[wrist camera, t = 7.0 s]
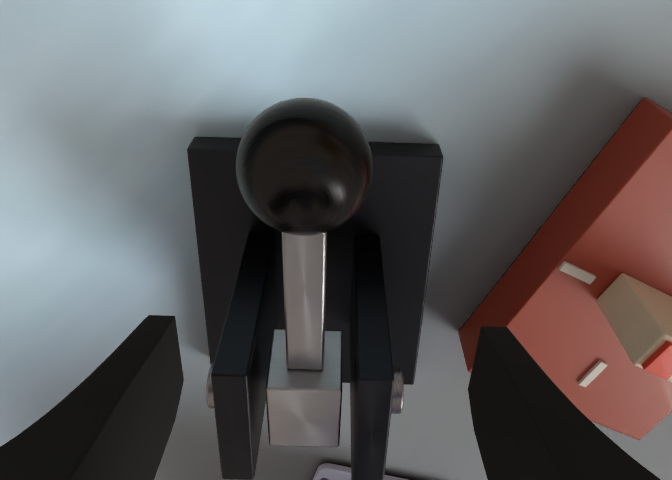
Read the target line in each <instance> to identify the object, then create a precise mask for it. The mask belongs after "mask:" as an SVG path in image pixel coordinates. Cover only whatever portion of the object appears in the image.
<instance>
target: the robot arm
mask: <svg viewBox="0 0 672 480" xmlns="http://www.w3.org/2000/svg"><path fill="white" fill-rule="evenodd" d="M183 381H184V379H183V371H182V364H181V357H180V350H179V342H178V335H177V328H176V320H175V316H158V315H149V316H148V317H146V318H145V319H144V320H143V321H142V322H141V323H140V324H139V326H138V327H137V328H136V329H135V330H134V331H133V332H132V333H131V334H130V335H129V336H128V337H127V338H126V339H125V340H124V341H123V342H122V343H121V345H120V346H119V347H118V348H117V349H116V350H115V351H114V352H113V353H112V354H111V355H110V356H109V357H108V358H107V359H106V360H105V361H104V362H103V363H102V364H101V365H100V366H99V367H98V368H97V369H96V370H95V371H94V372H93V373H92V374H91V375H90V376H88V377H87V378H86V379H85V380H84V381H83V382H82V383H81V384H80V385H79V386H78V387H76V388H75V389H74V390H73V391H72V392H71V393H70V394H69V395H68V396H66V397H65V398H64V399H63V400H62V401H61V402H60V403H58V404H57V405H56V406H55V407H54V408H52V409H51V410H50V411H49V412H48V413H46V414H45V415H44V416H43V417H41V418H40V419H39V420H38V421H36V422H35V423H34V424H32V425H31V426H30V427H28V428H27V429H26V430H24V431H23V432H22V433H20V434H19V435H17V436H16V437H15V438H13V439H12V440H10V441H9V442H7V443H6V444H4V445H3V446H1V447H0V480H154V478H155V475H156V472H157V469H158V467H159V464H160V461H161V458H162V456H163V453H164V450H165V447H166V444H167V441H168V439H169V436H170V433H171V430H172V427H173V424H174V421H175V418H176V413H177V409H178V405H179V400H180V395H181V390H182V386H183ZM468 392H469V399H470V407H471V414H472V420H473V426H474V431H475V435H476V439H477V442H478V446H479V450H480V453H481V457H482V461H483V464H484V468H485V471H486V475H487V478H488V480H660V479H659V478H658V477H656V476H655V475H654V474H652V473H651V472H650V471H648V470H647V469H646V468H644V467H643V466H642V465H640V464H639V463H638V462H637V461H635V460H634V459H633V458H632V457H630V456H629V455H628V454H627V453H626V452H624V451H623V450H622V449H621V448H620V447H619V446H618V445H616V444H615V443H614V442H613V441H612V440H611V439H609V438H608V437H607V436H606V435H605V434H604V433H603V432H602V431H600V430H599V429H598V428H597V427H596V426H595V425H594V424H593V423H592V422H591V421H590V420H589V419H588V418H587V417H586V416H585V415H584V414H583V413H582V412H581V411H580V410H579V409H578V408H577V407H576V406H575V405H574V404H573V403H572V402H571V401H570V400H569V399H568V398H567V397H566V396H565V395H564V393H563V392H562V391H561V390H560V389H559V388H558V387H557V386H556V385H555V383H554V382H553V381H552V380H551V379H550V378H549V377H548V376H547V374H546V373H545V372H544V371H543V370H542V369H541V367H540V366H539V365H538V364H537V363H536V361H535V360H534V359H533V358H532V357H531V355H530V354H529V353H528V352H527V351H526V349H525V348H524V347H523V346H522V344H521V343H520V342H519V341H518V340H517V338H516V337H515V336H514V335H513V333H512V332H511V331H510V330H509V329H508V328H507V327H495V326H481V328H480V333H479V338H478V343H477V348H476V353H475V358H474V363H473V368H472V372H471V377H470V382H469V387H468ZM313 480H351V468H350V467H346V466H341V465H336V464H331V463H323V464H321V465H320V466H319V467H318V469H317V471H316V473H315V475H314V478H313ZM384 480H408V479H404V478H399V477H394V476H389V475H384Z"/></svg>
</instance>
